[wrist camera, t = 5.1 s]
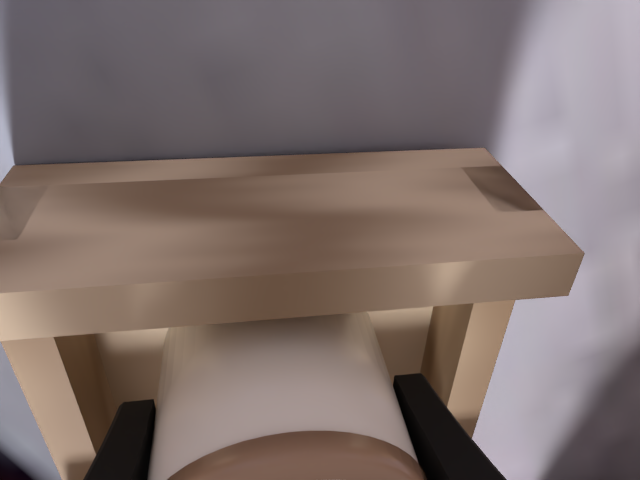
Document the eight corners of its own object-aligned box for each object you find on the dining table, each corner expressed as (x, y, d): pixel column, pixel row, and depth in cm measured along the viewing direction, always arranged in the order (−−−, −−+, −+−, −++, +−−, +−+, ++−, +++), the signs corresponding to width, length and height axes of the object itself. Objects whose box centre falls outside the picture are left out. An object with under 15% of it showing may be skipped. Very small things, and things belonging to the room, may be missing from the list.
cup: (176, 429, 14) (156, 683, 10) (143, 276, 11) (93, 544, 7) (367, 407, 15) (429, 634, 10) (384, 259, 12) (481, 488, 7)
